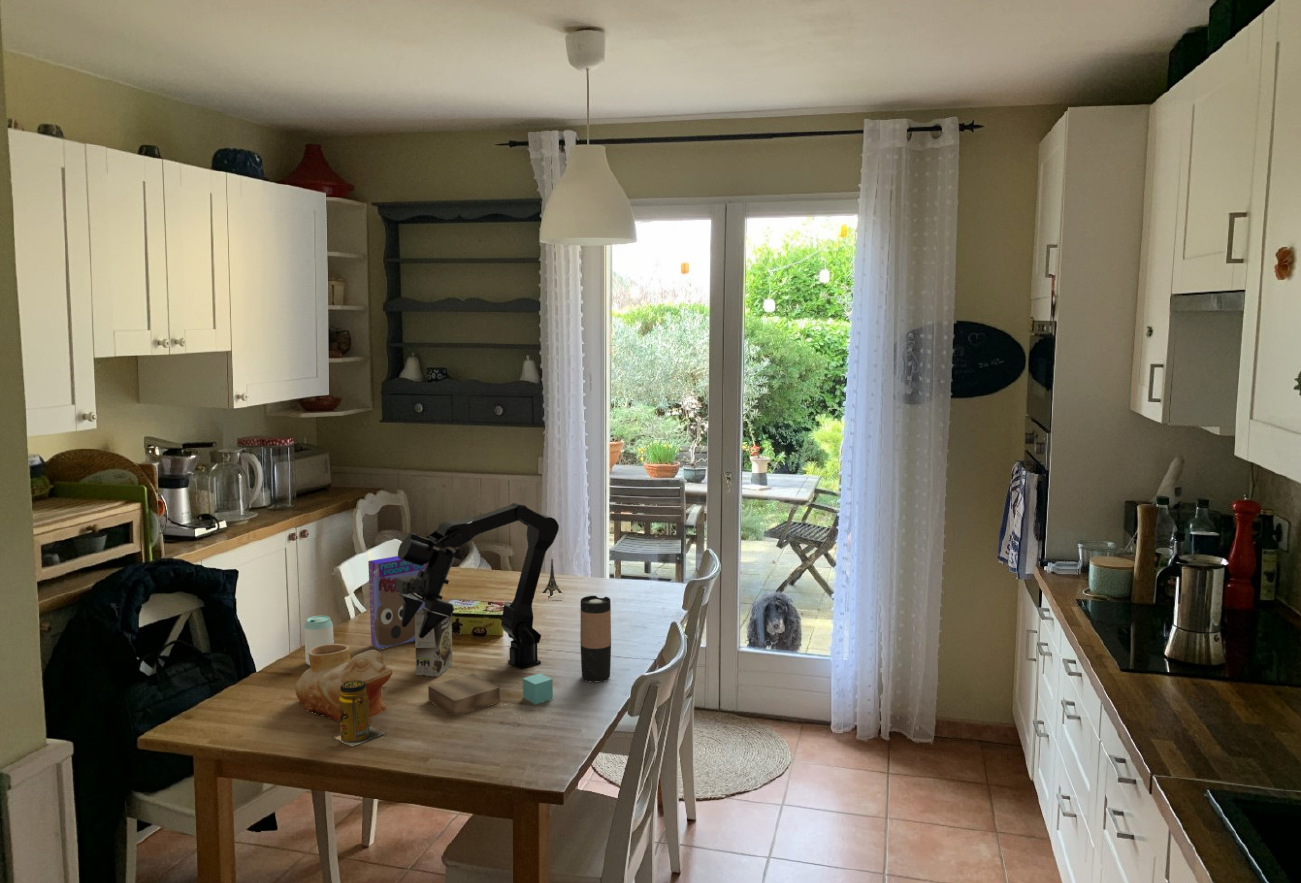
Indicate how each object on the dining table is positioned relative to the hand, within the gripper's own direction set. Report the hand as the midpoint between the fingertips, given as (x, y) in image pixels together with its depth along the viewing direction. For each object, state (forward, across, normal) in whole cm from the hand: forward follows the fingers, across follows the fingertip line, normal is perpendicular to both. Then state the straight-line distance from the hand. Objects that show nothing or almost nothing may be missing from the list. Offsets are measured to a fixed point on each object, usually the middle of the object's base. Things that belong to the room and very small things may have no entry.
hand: (411, 632), depth 238 cm
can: (+19, -30, -4) cm, 36 cm away
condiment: (+21, +19, -14) cm, 32 cm away
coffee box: (+9, -7, +15) cm, 18 cm away
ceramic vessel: (+20, +3, -11) cm, 23 cm away
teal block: (+3, +26, +23) cm, 35 cm away
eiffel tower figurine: (-15, -46, +72) cm, 86 cm away
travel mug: (-4, +24, +40) cm, 47 cm away
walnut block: (+10, +16, +10) cm, 22 cm away
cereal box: (+8, -33, +19) cm, 39 cm away
